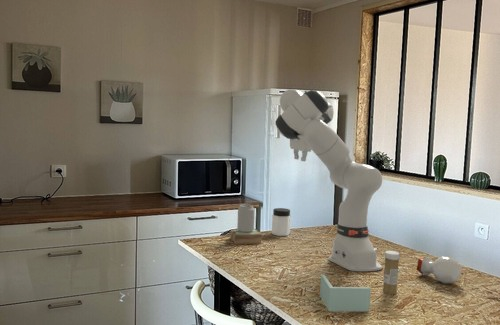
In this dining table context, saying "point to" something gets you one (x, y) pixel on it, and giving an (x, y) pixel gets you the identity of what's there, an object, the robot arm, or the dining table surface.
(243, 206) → the can
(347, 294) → the right angle wall
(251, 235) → the picture frame
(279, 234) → the jar
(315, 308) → the dining table surface
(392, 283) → the sprinkles bottle
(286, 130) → the robot arm
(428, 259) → the potion bottle
